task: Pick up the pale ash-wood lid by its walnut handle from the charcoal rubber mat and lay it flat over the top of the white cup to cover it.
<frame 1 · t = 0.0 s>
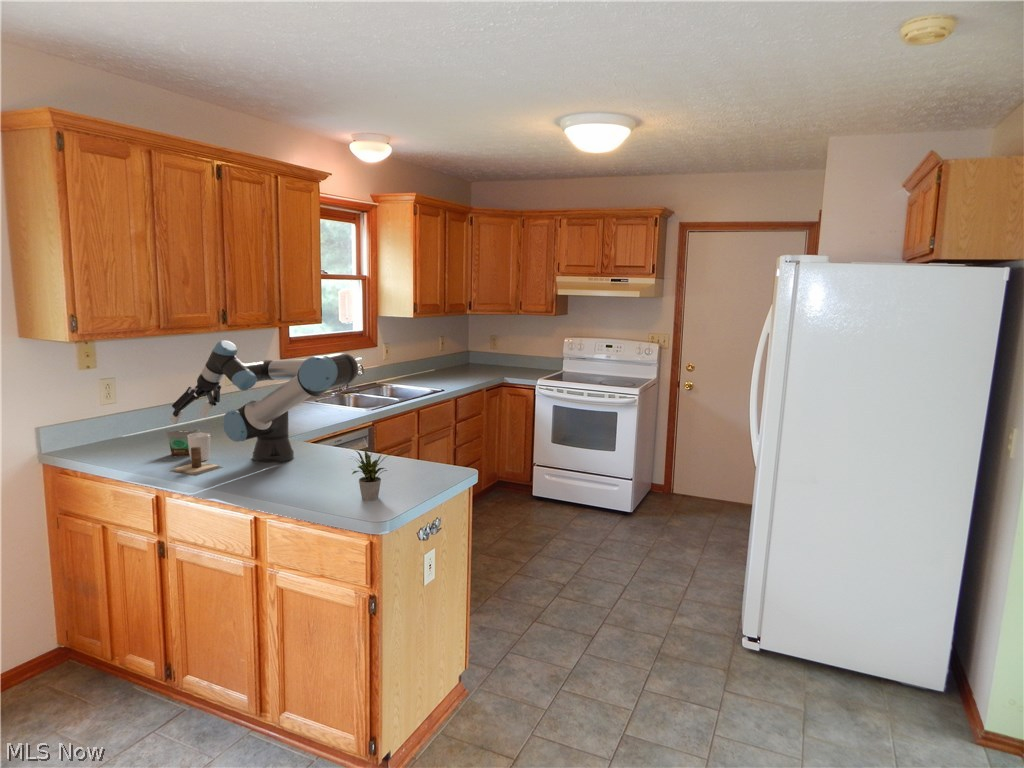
hand: (188, 418, 253), 15 cm above the worktop, tool tilted 35°, fingers open, 13 cm apart
house plant: (365, 498, 214), on the worktop
mat: (196, 470, 238), on the worktop
white cup: (199, 460, 251), on the worktop
lid: (196, 469, 238), point 1 cm above the worktop, touching mat
food container: (183, 456, 257), on the worktop
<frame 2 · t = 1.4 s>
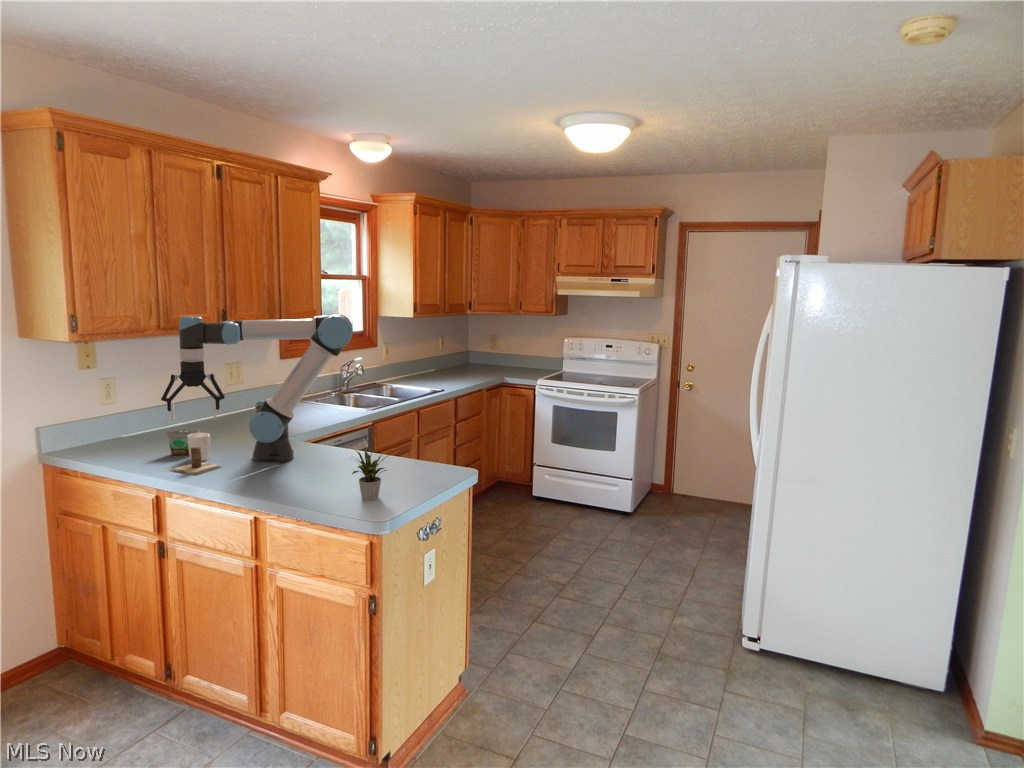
hand: (194, 419, 235), 19 cm above the worktop, tool pointing down, fingers open, 13 cm apart
nothing on the worktop moved.
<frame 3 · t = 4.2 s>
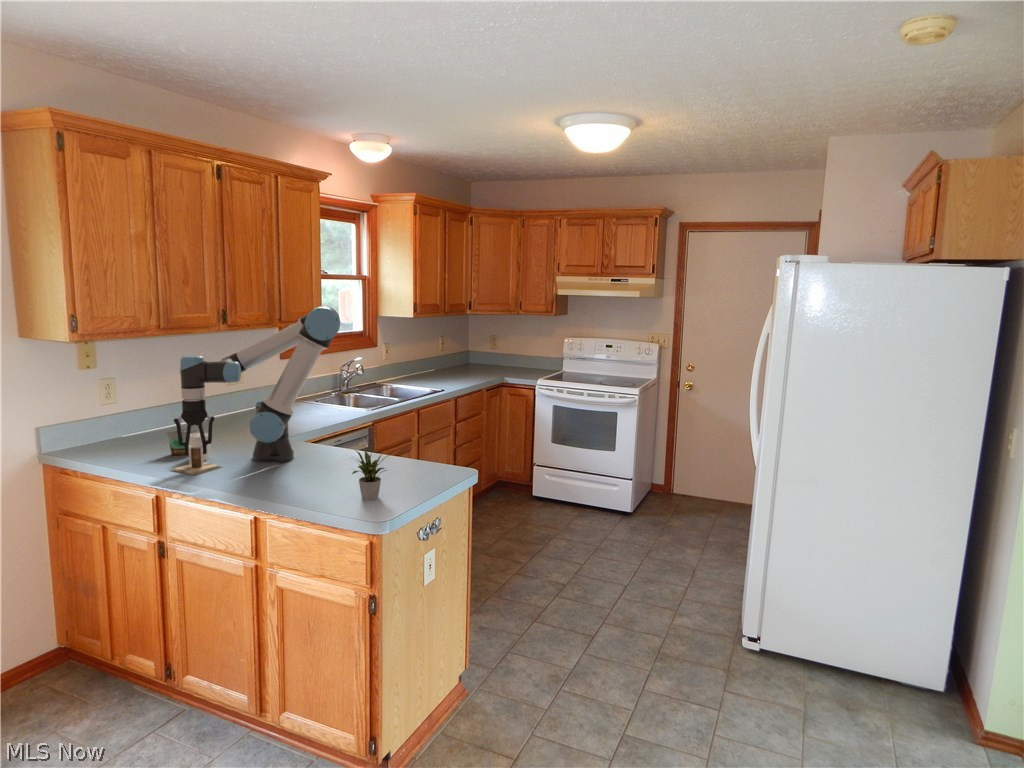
hand: (196, 463, 238), 3 cm above the worktop, tool pointing down, fingers closed on lid, 3 cm apart
lid: (196, 469, 238), point 1 cm above the worktop, touching gripper
everything else where it was.
when the fingers open (14 cm above the worktop, at t = 7.9 s): lid drops 3 cm, resting on white cup.
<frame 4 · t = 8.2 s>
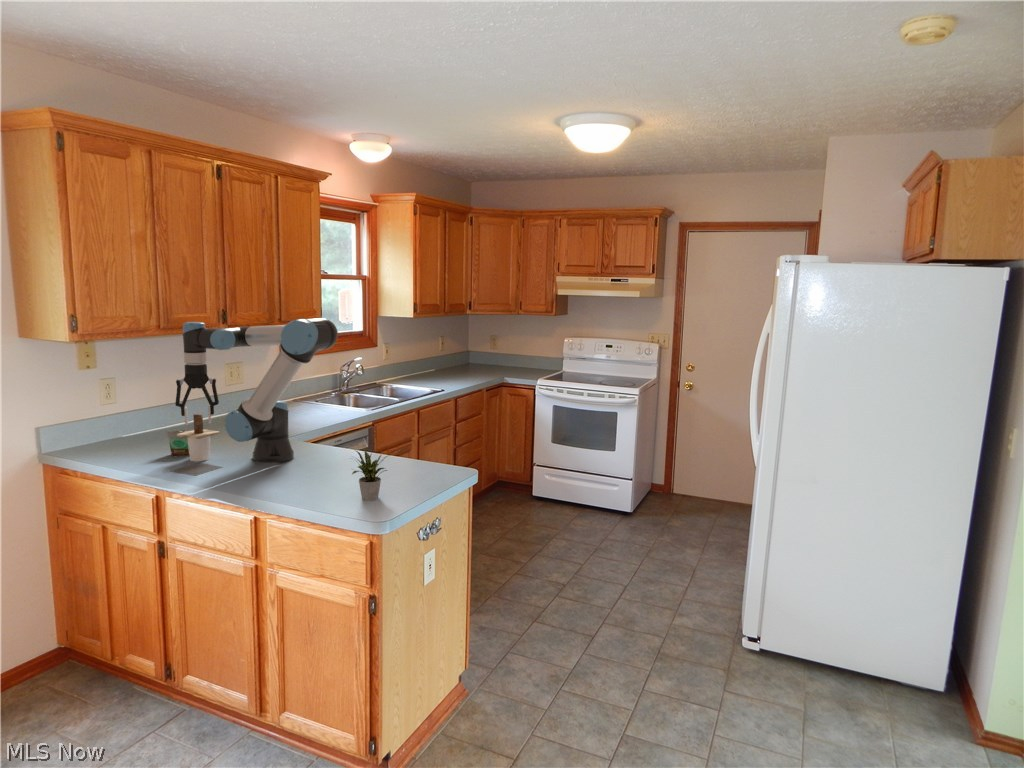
hand: (198, 423, 249), 14 cm above the worktop, tool pointing down, fingers open, 7 cm apart
white cup: (199, 460, 251), on the worktop, touching lid
lid: (198, 434, 250), point 10 cm above the worktop, touching white cup
everything else where it was.
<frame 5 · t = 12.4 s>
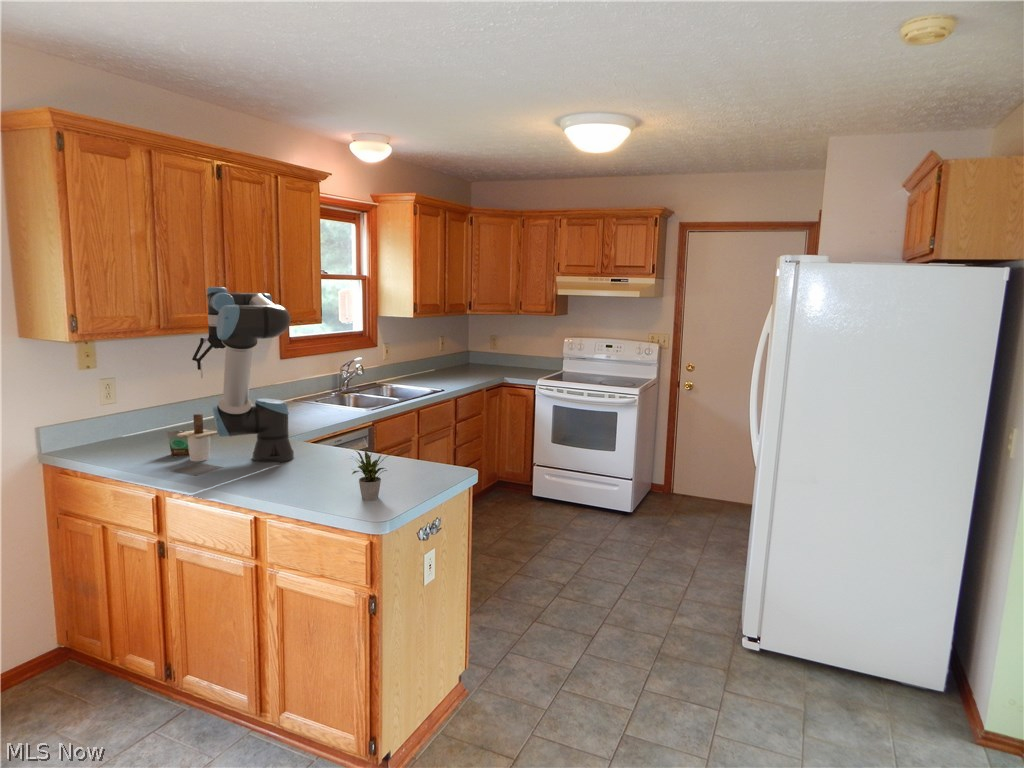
hand: (220, 377, 270), 29 cm above the worktop, tool pointing down, fingers open, 13 cm apart
nothing on the worktop moved.
at the end: lid 0.1 cm off-centre on the white cup, point 10.2 cm above the white cup's base; white cup tilted 0°; the gripper is holding nothing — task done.
